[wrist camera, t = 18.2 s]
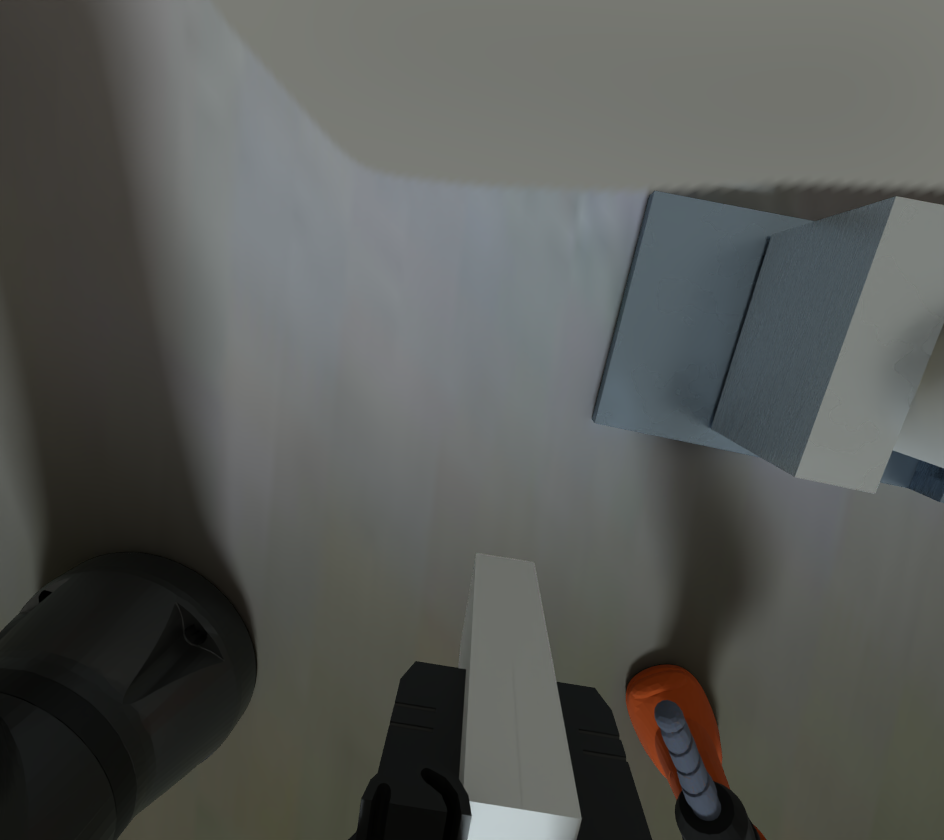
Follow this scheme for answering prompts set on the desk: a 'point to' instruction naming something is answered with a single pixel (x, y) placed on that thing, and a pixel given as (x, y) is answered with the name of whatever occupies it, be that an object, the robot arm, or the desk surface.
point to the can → (926, 413)
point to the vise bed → (698, 326)
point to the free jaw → (838, 342)
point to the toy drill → (687, 752)
